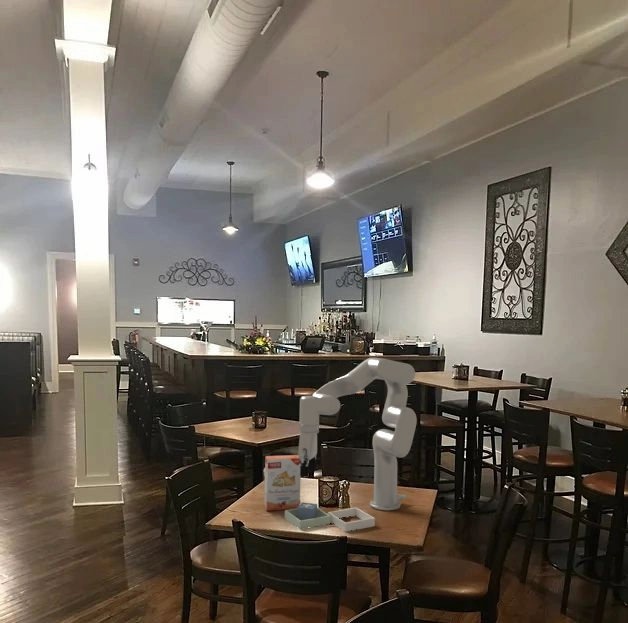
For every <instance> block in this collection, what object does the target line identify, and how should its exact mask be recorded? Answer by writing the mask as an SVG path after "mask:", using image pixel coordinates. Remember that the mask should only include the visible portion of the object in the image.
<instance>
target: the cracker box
mask: <svg viewBox="0 0 628 623" xmlns="http://www.w3.org/2000/svg"><path fill="white" fill-rule="evenodd" d="M264 460H265V463H264V464H265V467H264V468H265V489H264V492H263V493H264V494H263V495H264V497H263V498H264V499H263V500H264V502H263V505H264V506H263V507H264V509H265V511H267V512H268V511H269V512H271V511H281V510H283V511H285V510H290V509H296V508H298V506H299V505H300V504H301V480H302V479H301V478H302V476H300V461H301V459H299V458H298V454H292V455H290V454H289V455H266V456H265V459H264Z"/></svg>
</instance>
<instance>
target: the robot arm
mask: <svg viewBox="0 0 628 623" xmlns="http://www.w3.org/2000/svg"><path fill="white" fill-rule="evenodd" d="M415 378H416V371H415V369H414V367H413V366H412V364H410V363H406V362H405V363H404V362H401V361H396V360H391V359H387V358H381V357H368V358H366V359H365V360H363V361H362V362H361V363H359V364H358V365H357V366H356V367H354V368H353V369H352V370H350V371H349V372H348V373H347V374H345V375H343V376H340V377H339V378H336V379H334V380H332V381H328V383H326V384H324V385H323V386H321V387H320V388H319V389H317V390H316V391H314V393H313V394H312V395H302V396H301V397H300V398H299V426H298V427H299V429H298V431H299V440H298V442H299V443H298V454H297V455H298V458H299V459H301V461H300V476H301V478H302V477H304V478H305V477H306V478H308V477H309V476H310V475H309V474H310V471H317V454H318V434H319V432H320V429H319V428H320V415H324V416H325V415H327V416H332V415H335V414H337V413H338V412H339V410H340V409H341V402H340V400H339V399H338V398H340V397H343V396H348V395H350V396H351V395H355V394H357V393H359V392H361V390H363V389H364V388H366V387H367V386H368V385H370V384H371V383H372V382H373V381H374V380H382V381H384V382H385V384H386V387H387V396H386V398H385V402H384V407H383V411H382V415H381V420H382V423H383V424H384V425H385V426H387V427H388V428H392V429H394V430H391V429H386V428H381V429H378V430H377V431H375V433H374V434H373V436H372V443H371V444H372V448H373V455H374V456H373V457H374V462H373V463H374V468H373V472H374V474H373V499H371V500H370V501H369V505H370V507H372V509H376V510H380V511H395V510H396V511H397V510H399V509H400V508H401V502H400V501H402V500H406V499H407V495H406V494H400V493H398V459H397V458H405V457H406V456H407V455H408V454H409V452H410V450H411V447H412V444H413V440H414V437H415V432H416V426H417V420H418V419H417V415H416V413H415V411H414V410H413V409H412V408H410V407H407V402H408V397H409V396H408V395H409V394H408V393H409V392H408V386H407V385H408V384H409V385H410V384H411V383H412V382H413V381H414V380H415Z"/></svg>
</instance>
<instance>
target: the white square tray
mask: <svg viewBox="0 0 628 623" xmlns="http://www.w3.org/2000/svg"><path fill="white" fill-rule="evenodd" d="M327 514H328V515H330V516H331V522H332V523H331V524H333V523H334V524H335V525H334V524H333V525H334V526H336V527H337V526H338V527H337V528H339V529H340V528H341V529H340V530H342V531H343V532H346V533H347V532H351V530H352V531H357V530H362V529H367V528H372V527H375V526H376V524H375V523H376V518H375V517H374V516H372V515H370V514H368V513H367V512H366V511H363V510H361V509H359V507H350V508H345V509H339V510H333V511H327ZM355 515H356V516H355ZM349 516H351V517H357V518H359V520H354V521H348V522H345V521H344V520H342V519H343V518H342V517H346V518H350V517H349ZM339 518H340V519H339ZM356 529H357V530H356Z"/></svg>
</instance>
